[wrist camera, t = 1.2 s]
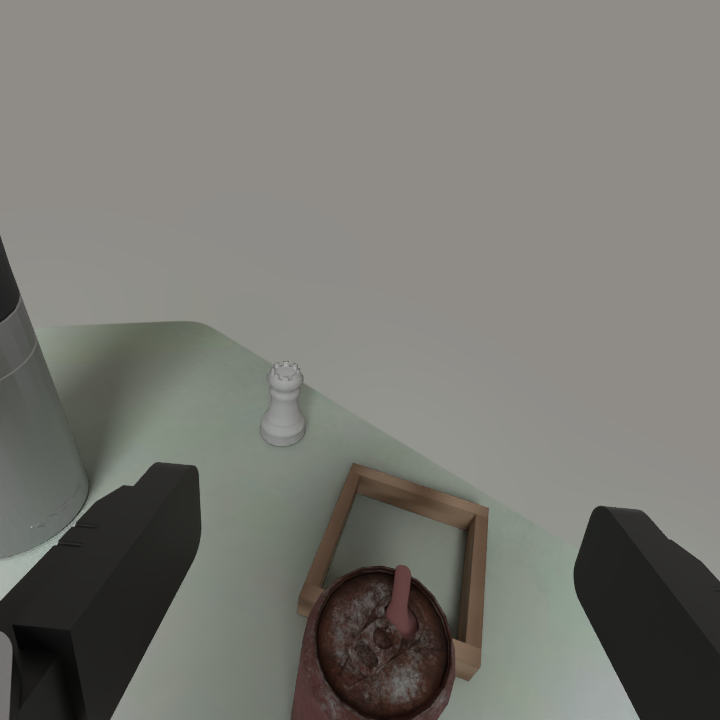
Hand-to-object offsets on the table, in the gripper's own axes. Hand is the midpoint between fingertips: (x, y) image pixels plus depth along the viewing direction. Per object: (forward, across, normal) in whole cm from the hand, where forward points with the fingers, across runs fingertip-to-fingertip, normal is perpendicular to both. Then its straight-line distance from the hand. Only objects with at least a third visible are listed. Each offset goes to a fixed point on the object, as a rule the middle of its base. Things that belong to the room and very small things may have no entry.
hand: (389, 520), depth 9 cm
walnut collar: (+19, -3, +20) cm, 28 cm away
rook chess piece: (+30, +8, +16) cm, 35 cm away
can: (+9, 0, +23) cm, 25 cm away
